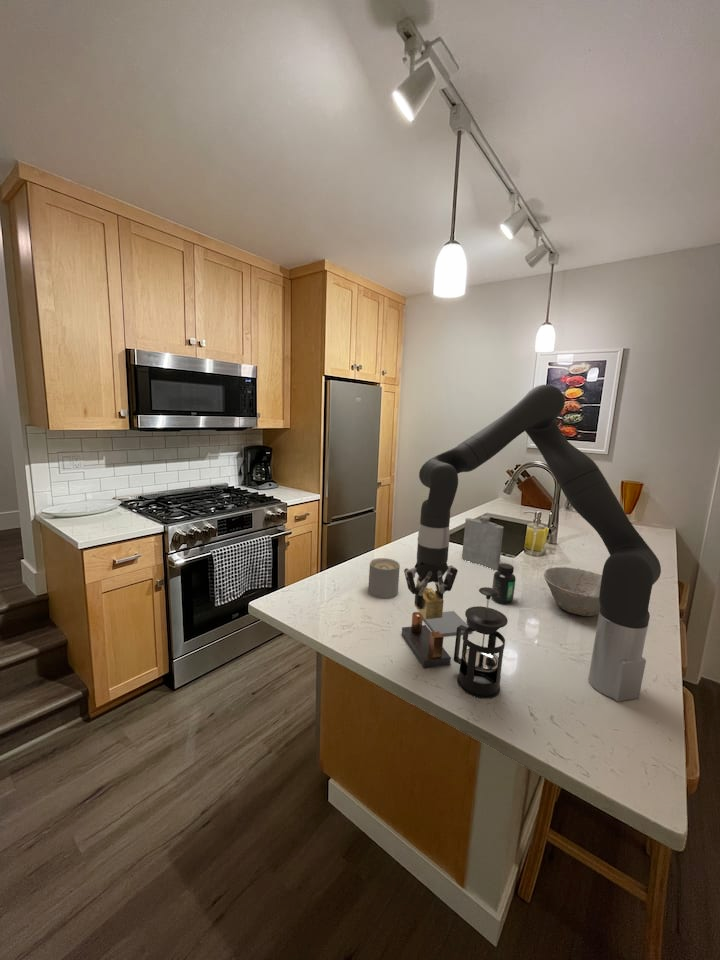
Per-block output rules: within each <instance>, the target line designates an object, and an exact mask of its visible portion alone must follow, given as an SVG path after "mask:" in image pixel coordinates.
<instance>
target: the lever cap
mask: <svg viewBox="0 0 720 960" xmlns="http://www.w3.org/2000/svg"><path fill="white" fill-rule="evenodd" d="M414 607H415V608H416V609H417V610H418V611H417V612H420V613H421V614H422V615H423V617H424V618H425V619H433V618H442V614H443V612H444V598H443V599H442V598H441V597H440V596H438V595H437V594H436V593H435V590H434V589H432V588H430V587H429V588H428V587H426V588H425V590H424V592H423V604H422V609H418V607H417V606H416V605H415V604H414Z"/></svg>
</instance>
